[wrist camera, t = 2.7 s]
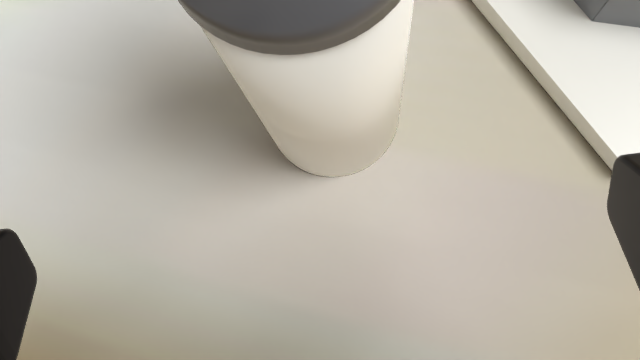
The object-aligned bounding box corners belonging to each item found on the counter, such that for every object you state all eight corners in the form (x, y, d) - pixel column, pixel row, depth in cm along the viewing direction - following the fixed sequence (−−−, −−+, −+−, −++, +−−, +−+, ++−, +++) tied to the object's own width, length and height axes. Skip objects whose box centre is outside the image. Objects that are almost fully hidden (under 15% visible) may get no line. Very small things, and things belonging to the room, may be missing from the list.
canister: (314, 206, 22) (238, 89, 10) (241, 98, 23) (91, -129, 11) (428, 129, 22) (495, -82, 10) (351, 26, 23) (324, -279, 11)
